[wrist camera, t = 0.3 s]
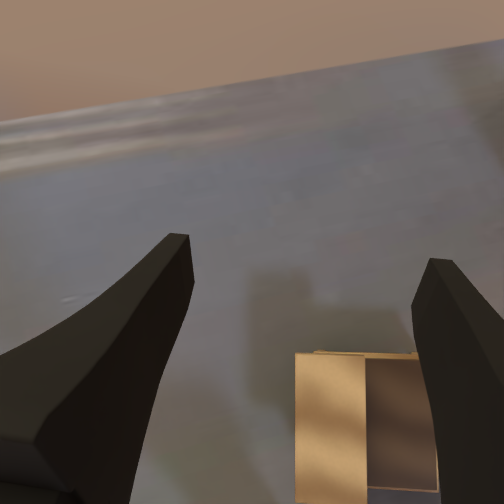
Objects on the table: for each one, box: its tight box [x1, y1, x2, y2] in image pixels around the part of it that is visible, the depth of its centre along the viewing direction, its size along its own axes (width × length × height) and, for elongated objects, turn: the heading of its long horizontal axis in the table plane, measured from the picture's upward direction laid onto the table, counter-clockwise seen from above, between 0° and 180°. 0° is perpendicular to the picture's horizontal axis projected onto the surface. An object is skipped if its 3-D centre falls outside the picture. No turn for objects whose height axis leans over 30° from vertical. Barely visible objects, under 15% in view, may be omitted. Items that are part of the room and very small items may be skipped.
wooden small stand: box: [295, 350, 439, 504], centre depth 37 cm, size 12×13×6 cm
